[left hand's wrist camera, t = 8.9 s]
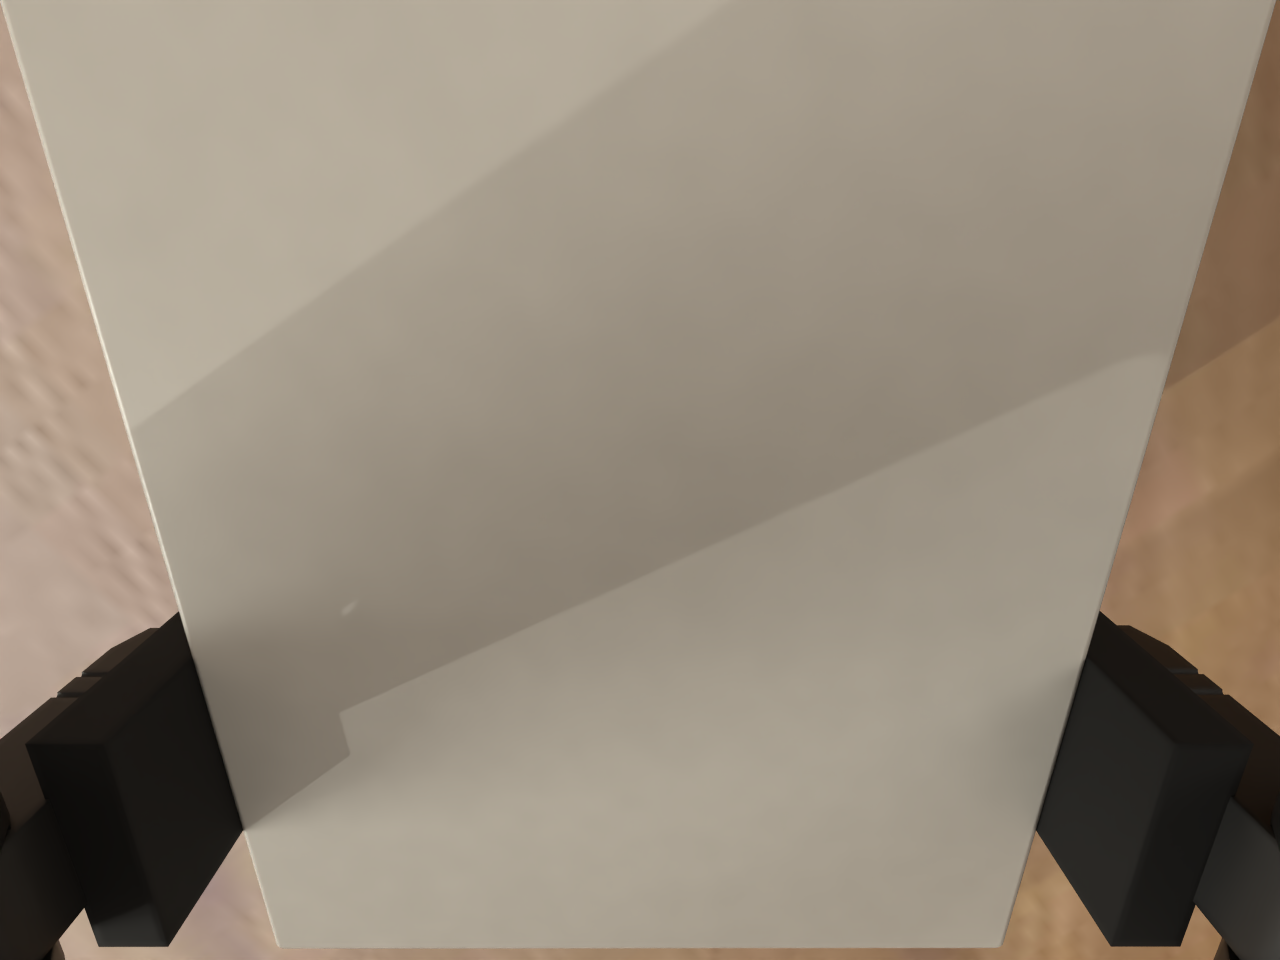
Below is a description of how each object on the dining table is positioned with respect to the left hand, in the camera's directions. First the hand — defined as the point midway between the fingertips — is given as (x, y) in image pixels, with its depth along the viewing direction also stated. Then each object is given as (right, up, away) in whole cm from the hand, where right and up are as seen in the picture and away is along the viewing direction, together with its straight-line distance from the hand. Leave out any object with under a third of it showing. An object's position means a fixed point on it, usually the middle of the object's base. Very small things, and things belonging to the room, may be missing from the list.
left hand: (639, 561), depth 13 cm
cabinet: (0, +6, +2) cm, 6 cm away
